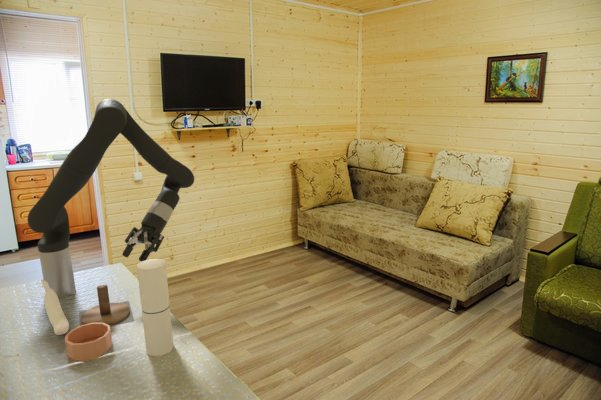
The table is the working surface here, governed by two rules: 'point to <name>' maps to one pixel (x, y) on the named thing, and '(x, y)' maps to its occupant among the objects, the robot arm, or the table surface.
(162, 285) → the cylindrical container
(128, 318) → the rubber mat
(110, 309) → the walnut lid
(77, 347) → the terracotta bowl
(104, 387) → the table surface
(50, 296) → the banana
